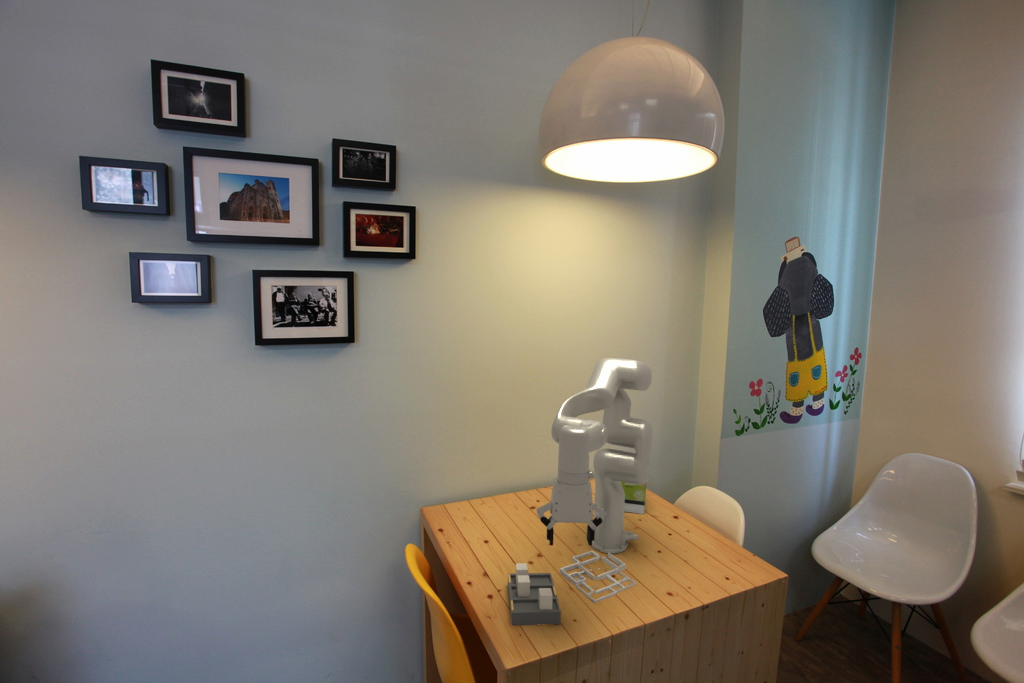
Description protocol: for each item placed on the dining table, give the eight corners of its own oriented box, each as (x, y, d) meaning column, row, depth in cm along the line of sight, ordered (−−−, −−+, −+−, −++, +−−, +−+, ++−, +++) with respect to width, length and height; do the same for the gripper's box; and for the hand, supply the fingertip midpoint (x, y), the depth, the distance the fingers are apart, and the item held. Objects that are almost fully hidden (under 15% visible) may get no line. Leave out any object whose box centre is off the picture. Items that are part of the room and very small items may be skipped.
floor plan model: (587, 543, 152) (587, 537, 151) (644, 584, 130) (645, 577, 130) (540, 558, 142) (540, 552, 142) (594, 605, 121) (595, 598, 120)
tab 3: (550, 603, 116) (550, 588, 116) (552, 611, 113) (552, 595, 113) (538, 603, 116) (538, 588, 115) (539, 611, 113) (540, 595, 112)
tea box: (604, 510, 175) (605, 472, 174) (604, 499, 185) (606, 463, 184) (644, 515, 172) (646, 476, 171) (643, 503, 182) (645, 467, 180)
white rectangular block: (526, 577, 126) (526, 563, 126) (527, 583, 124) (527, 569, 123) (515, 577, 126) (515, 563, 126) (516, 584, 123) (516, 569, 123)
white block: (528, 589, 121) (528, 575, 121) (529, 597, 118) (529, 582, 118) (517, 589, 121) (517, 575, 120) (517, 597, 118) (518, 582, 117)
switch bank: (550, 584, 128) (551, 572, 128) (560, 624, 112) (560, 610, 112) (507, 584, 127) (508, 572, 127) (511, 625, 112) (511, 611, 111)
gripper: (604, 471, 117) (601, 535, 118) (536, 469, 116) (534, 534, 118) (611, 482, 109) (608, 551, 111) (539, 481, 109) (536, 550, 110)
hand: (570, 542), depth 114 cm, fingers open, 9 cm apart
